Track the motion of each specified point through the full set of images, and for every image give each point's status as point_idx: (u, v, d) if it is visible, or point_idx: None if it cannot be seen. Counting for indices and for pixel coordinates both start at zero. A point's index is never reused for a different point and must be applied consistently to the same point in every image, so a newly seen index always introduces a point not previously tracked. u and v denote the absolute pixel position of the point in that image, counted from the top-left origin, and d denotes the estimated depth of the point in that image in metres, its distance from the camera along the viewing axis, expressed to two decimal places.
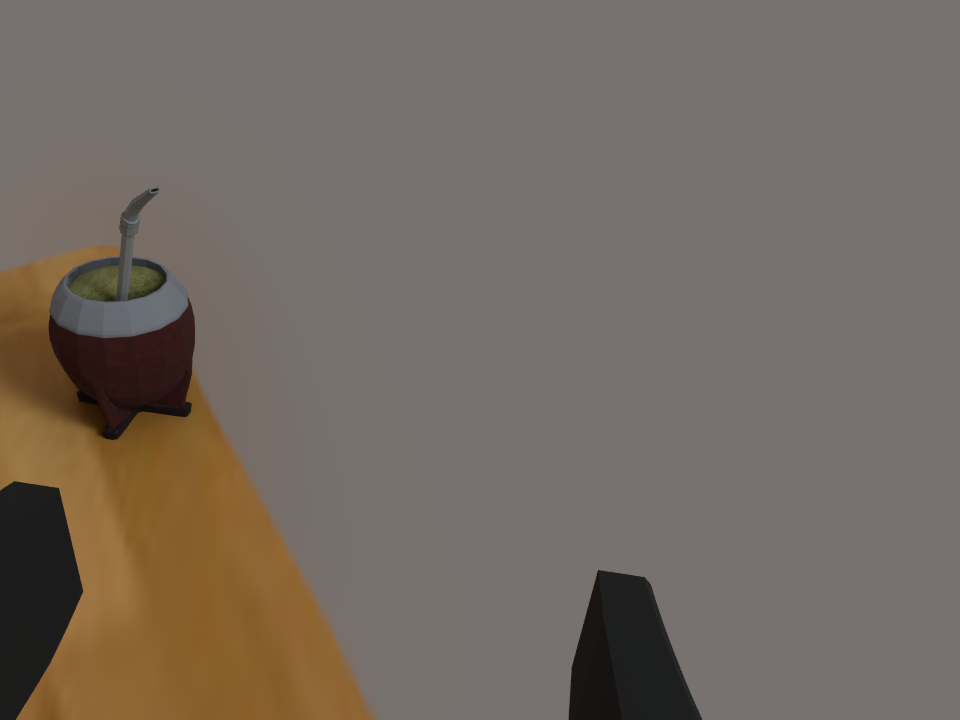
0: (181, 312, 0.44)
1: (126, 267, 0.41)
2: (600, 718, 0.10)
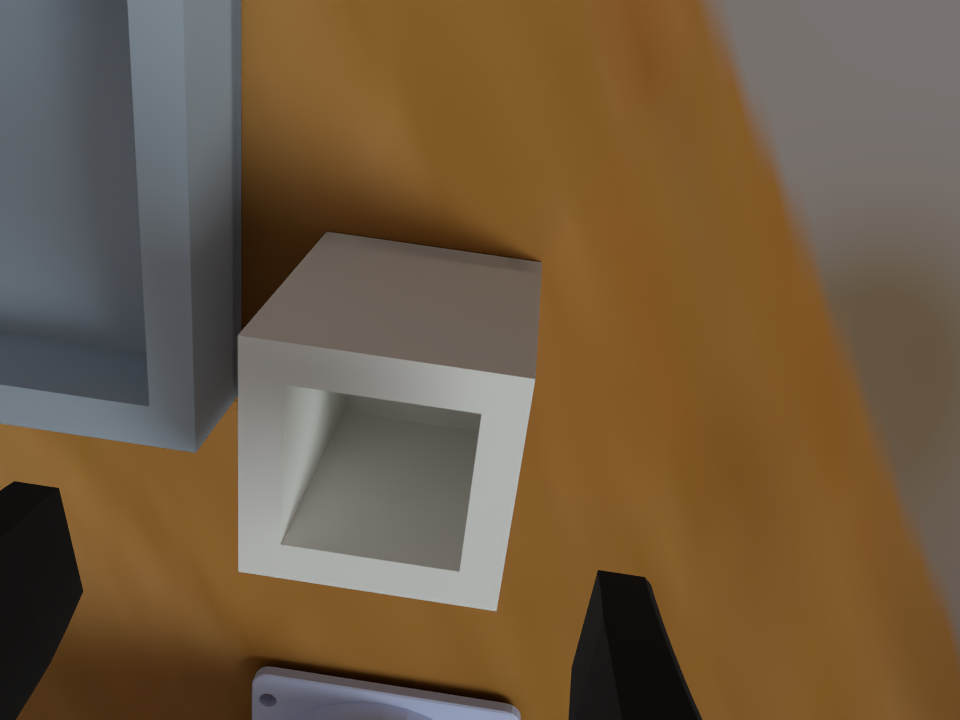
0: None
1: None
2: (600, 718, 0.10)
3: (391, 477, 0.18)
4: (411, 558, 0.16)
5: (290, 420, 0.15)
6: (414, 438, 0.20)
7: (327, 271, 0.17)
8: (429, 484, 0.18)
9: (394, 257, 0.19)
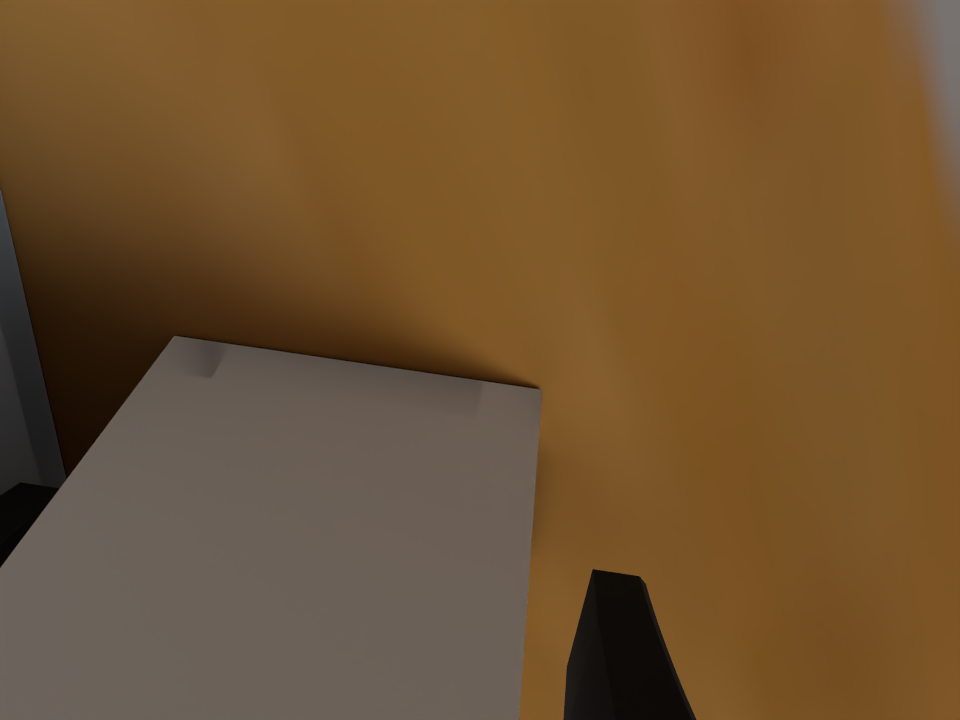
0: None
1: None
2: (594, 717, 0.10)
3: None
4: None
5: None
6: None
7: (141, 464, 0.09)
8: None
9: (279, 403, 0.11)
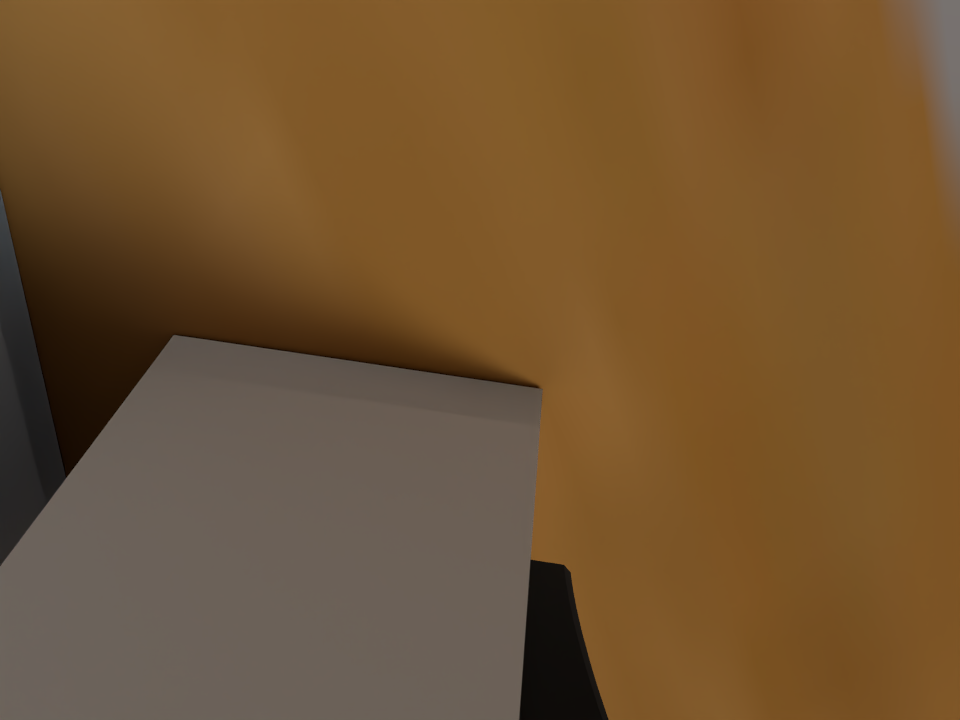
0: None
1: None
2: None
3: None
4: None
5: None
6: None
7: (140, 464, 0.09)
8: None
9: (279, 402, 0.11)
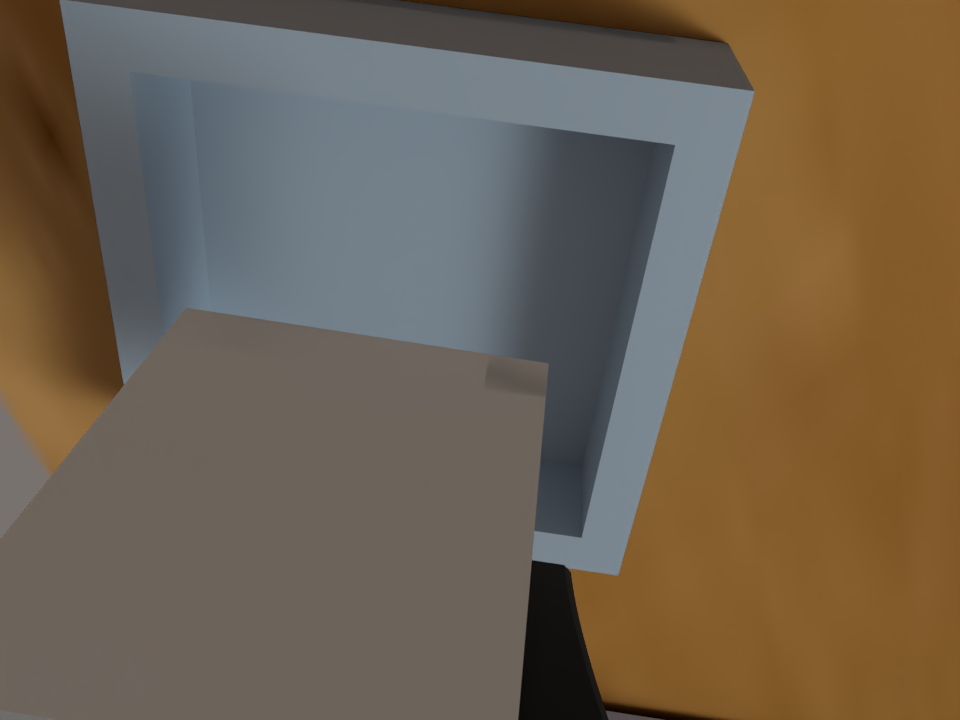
0: None
1: None
2: None
3: None
4: None
5: None
6: None
7: (152, 427, 0.10)
8: None
9: (289, 372, 0.11)
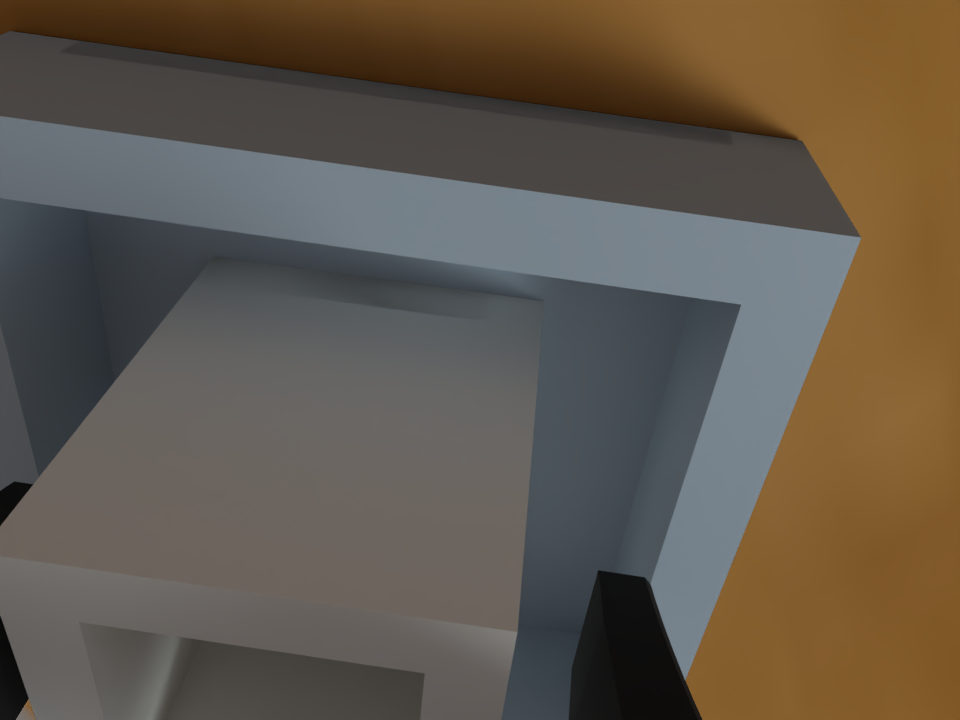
0: None
1: None
2: (600, 718, 0.10)
3: None
4: None
5: (115, 645, 0.09)
6: None
7: (192, 353, 0.11)
8: None
9: (310, 309, 0.12)
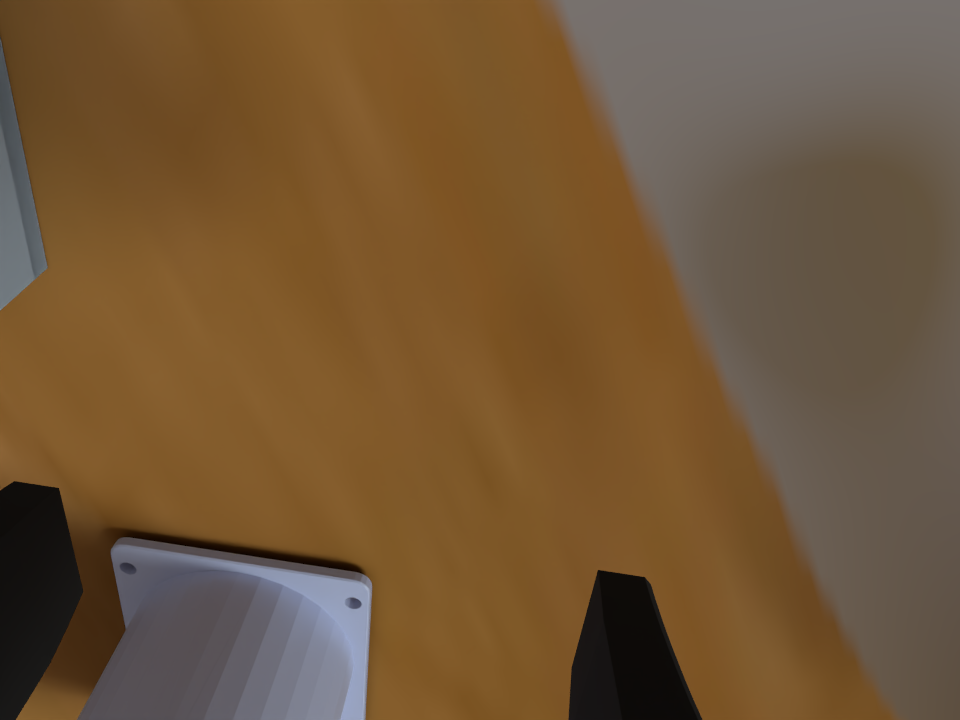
0: None
1: None
2: (600, 718, 0.10)
3: None
4: None
5: None
6: None
7: None
8: None
9: None
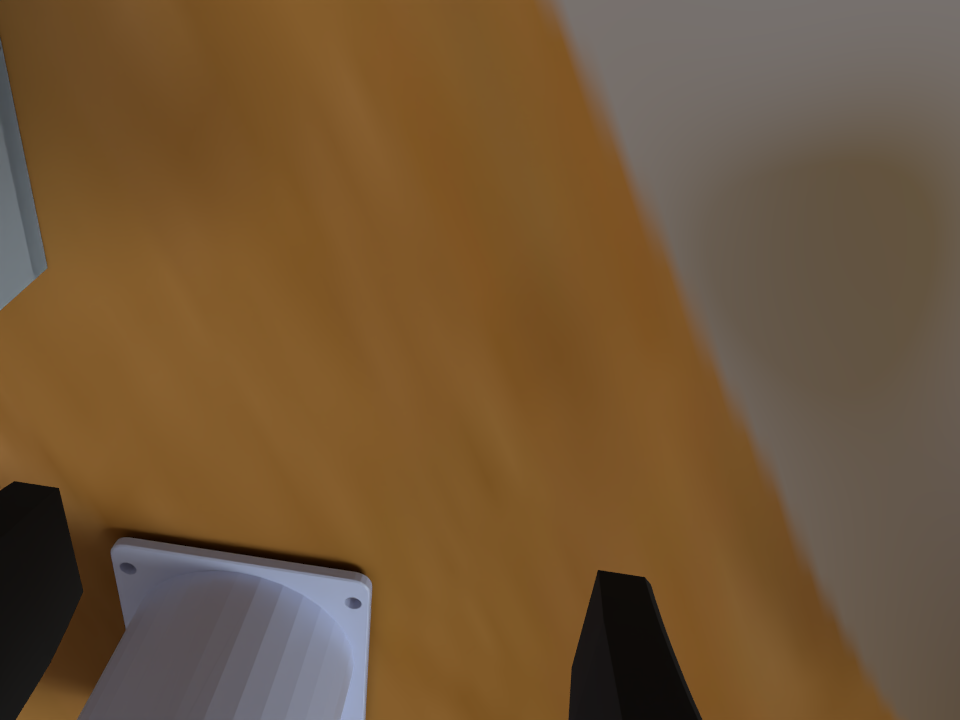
0: None
1: None
2: (600, 718, 0.10)
3: None
4: None
5: None
6: None
7: None
8: None
9: None
